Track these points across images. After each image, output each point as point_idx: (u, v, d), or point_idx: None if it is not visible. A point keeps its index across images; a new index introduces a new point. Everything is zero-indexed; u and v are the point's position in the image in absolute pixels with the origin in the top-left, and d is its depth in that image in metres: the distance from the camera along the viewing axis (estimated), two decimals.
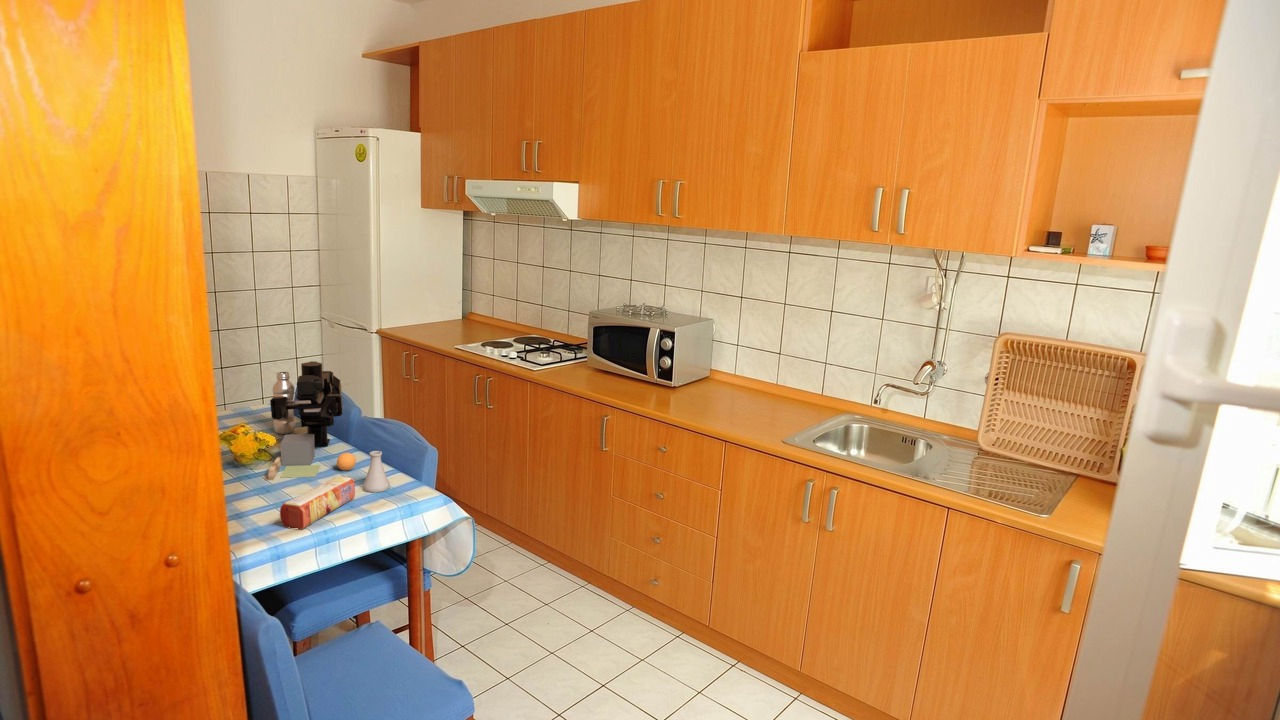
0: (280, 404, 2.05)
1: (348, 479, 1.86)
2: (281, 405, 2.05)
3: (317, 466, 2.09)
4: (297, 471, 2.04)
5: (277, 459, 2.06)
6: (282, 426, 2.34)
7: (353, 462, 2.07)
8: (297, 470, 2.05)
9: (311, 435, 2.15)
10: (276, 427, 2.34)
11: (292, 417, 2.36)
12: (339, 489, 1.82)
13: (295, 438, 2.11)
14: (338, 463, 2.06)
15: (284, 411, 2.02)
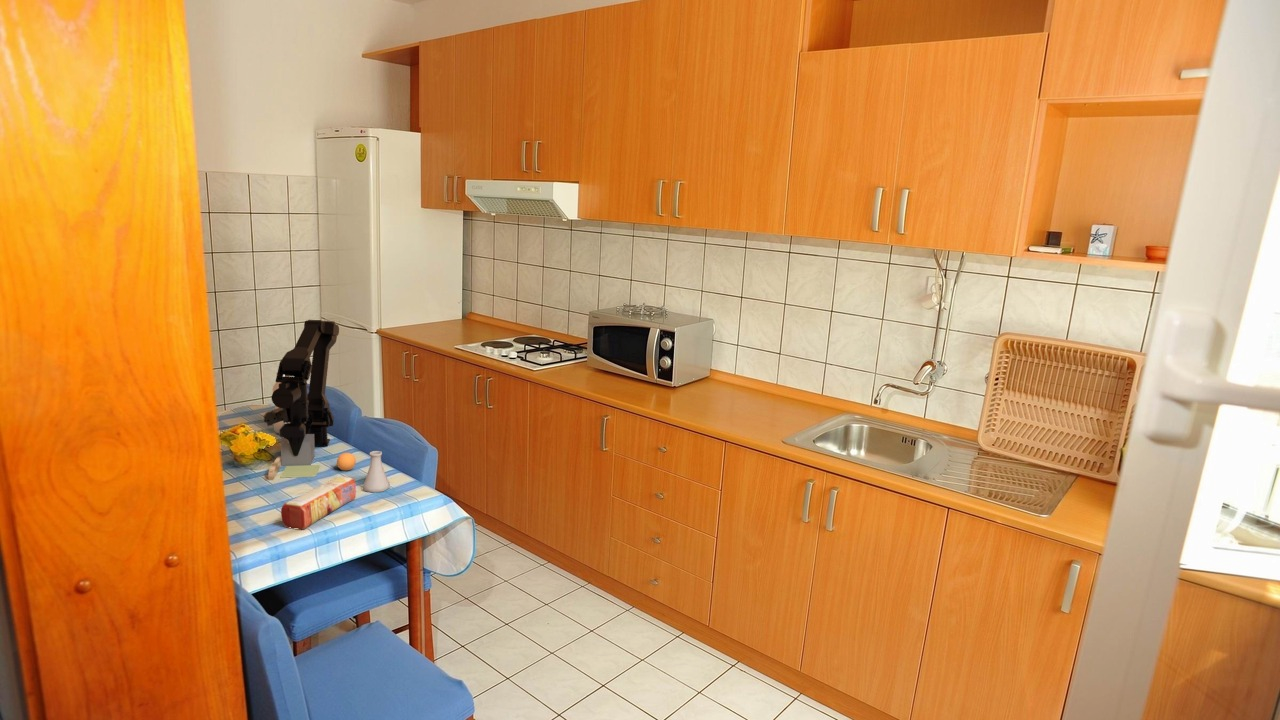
0: None
1: (349, 479, 1.86)
2: None
3: (317, 466, 2.09)
4: (297, 471, 2.04)
5: (277, 459, 2.06)
6: None
7: (353, 462, 2.07)
8: (297, 470, 2.05)
9: (311, 435, 2.15)
10: (276, 427, 2.34)
11: None
12: (340, 489, 1.82)
13: None
14: (338, 463, 2.06)
15: None
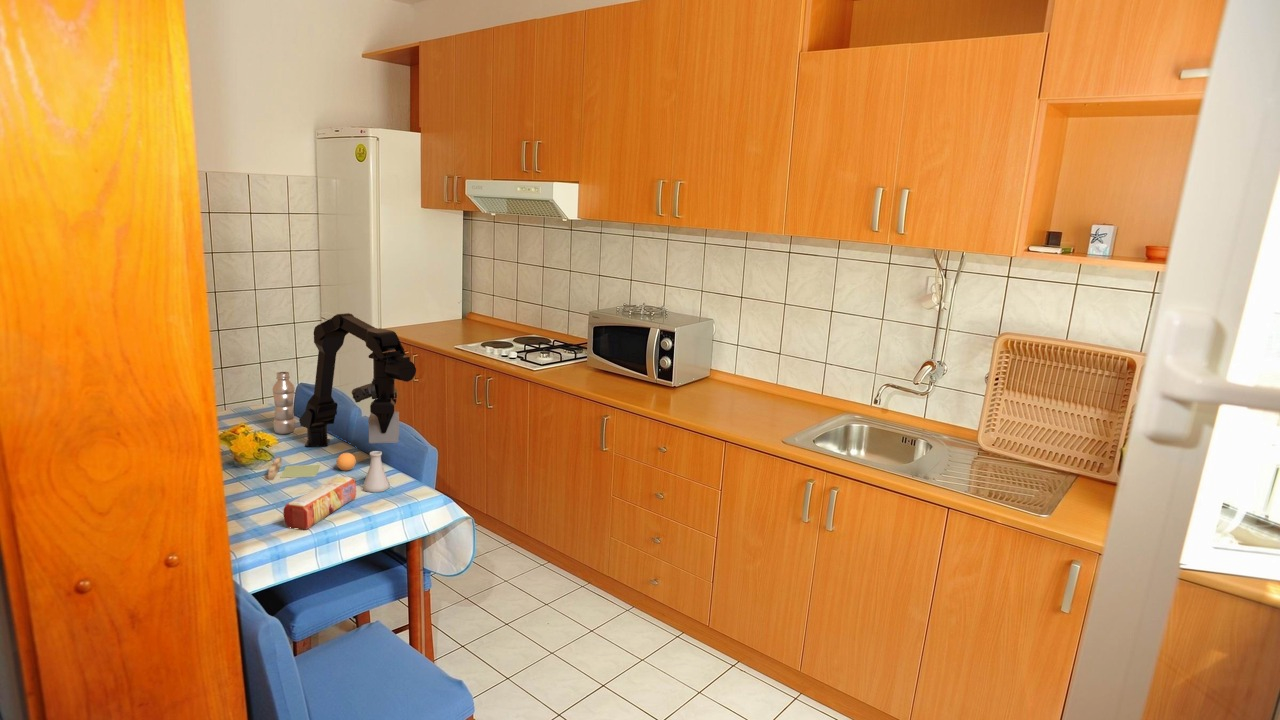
0: None
1: (349, 479, 1.87)
2: None
3: (317, 466, 2.09)
4: (297, 471, 2.04)
5: (277, 459, 2.06)
6: (282, 426, 2.34)
7: (353, 462, 2.07)
8: (297, 470, 2.05)
9: (396, 412, 2.11)
10: (276, 427, 2.34)
11: (292, 417, 2.36)
12: (341, 489, 1.82)
13: None
14: (338, 463, 2.06)
15: None
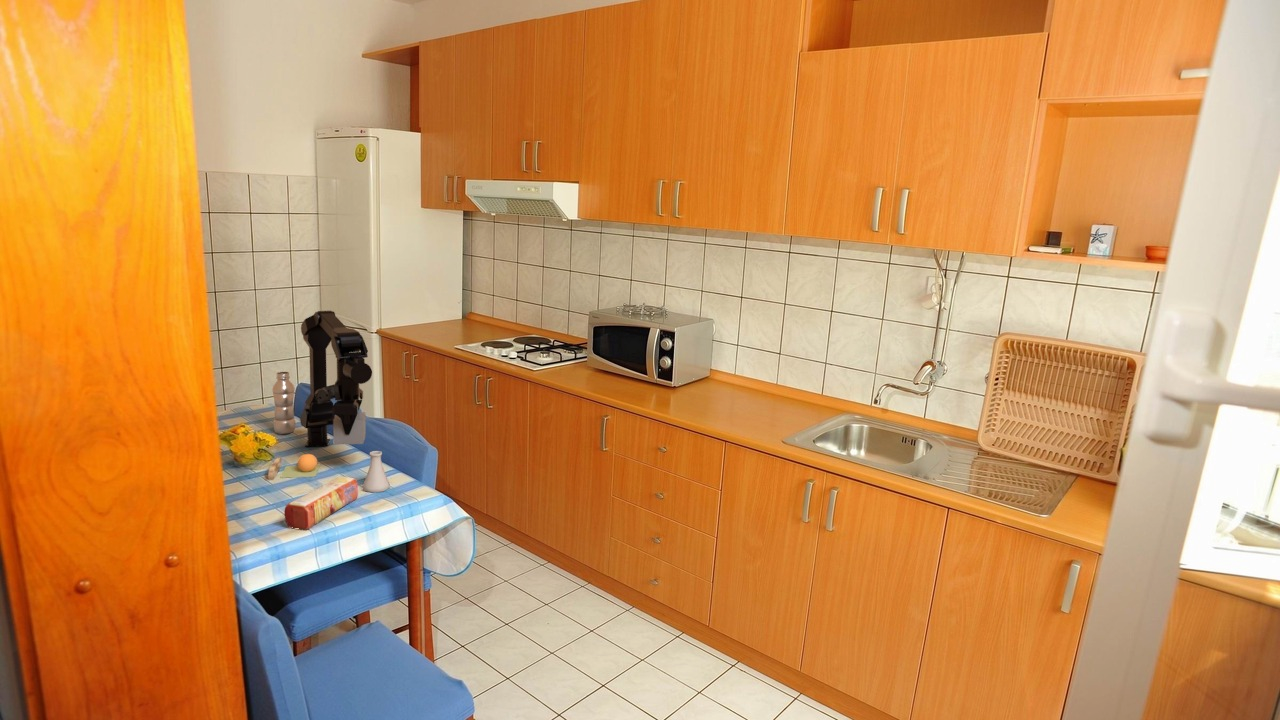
0: None
1: (351, 479, 1.87)
2: None
3: (317, 466, 2.09)
4: (297, 471, 2.04)
5: (277, 459, 2.06)
6: (282, 426, 2.34)
7: (302, 470, 2.04)
8: (297, 470, 2.05)
9: (362, 413, 2.09)
10: (276, 427, 2.34)
11: (292, 417, 2.36)
12: (342, 489, 1.82)
13: None
14: (311, 459, 2.04)
15: None
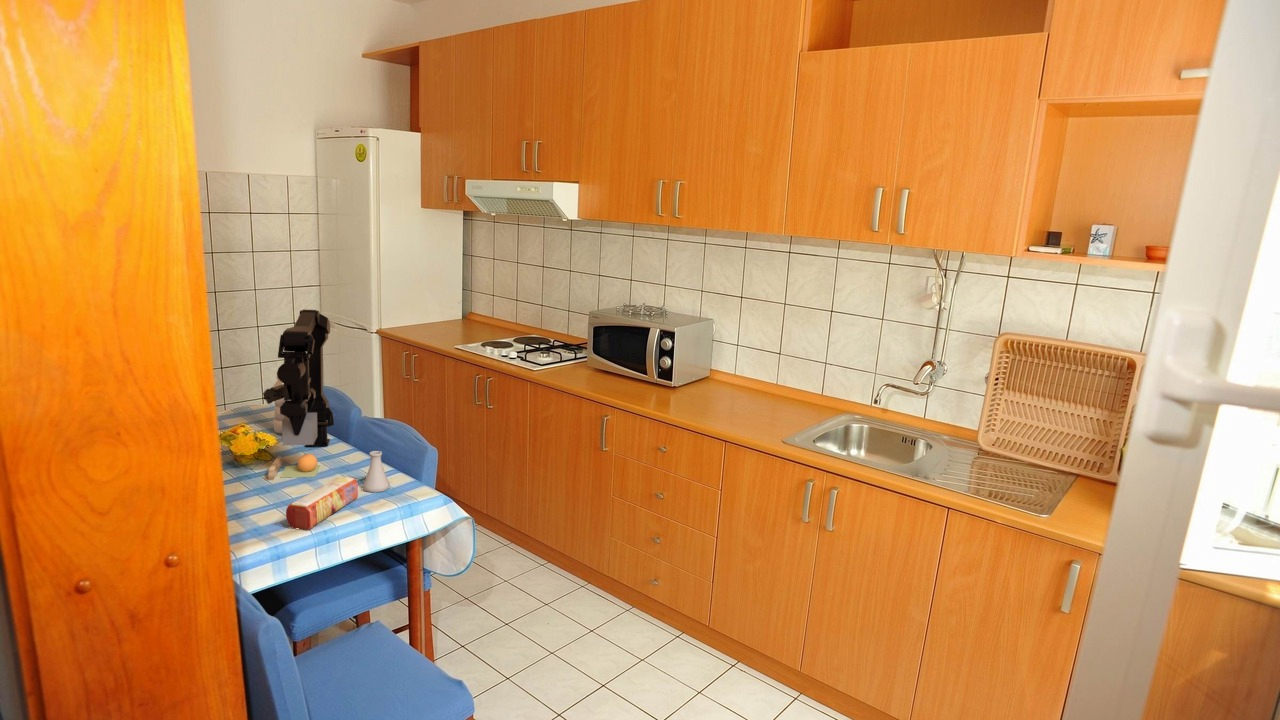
0: None
1: (351, 479, 1.87)
2: None
3: (317, 466, 2.09)
4: (297, 471, 2.04)
5: (277, 459, 2.06)
6: None
7: (302, 470, 2.04)
8: (297, 470, 2.05)
9: (314, 413, 2.05)
10: (276, 427, 2.34)
11: None
12: (343, 489, 1.82)
13: None
14: (311, 459, 2.04)
15: None
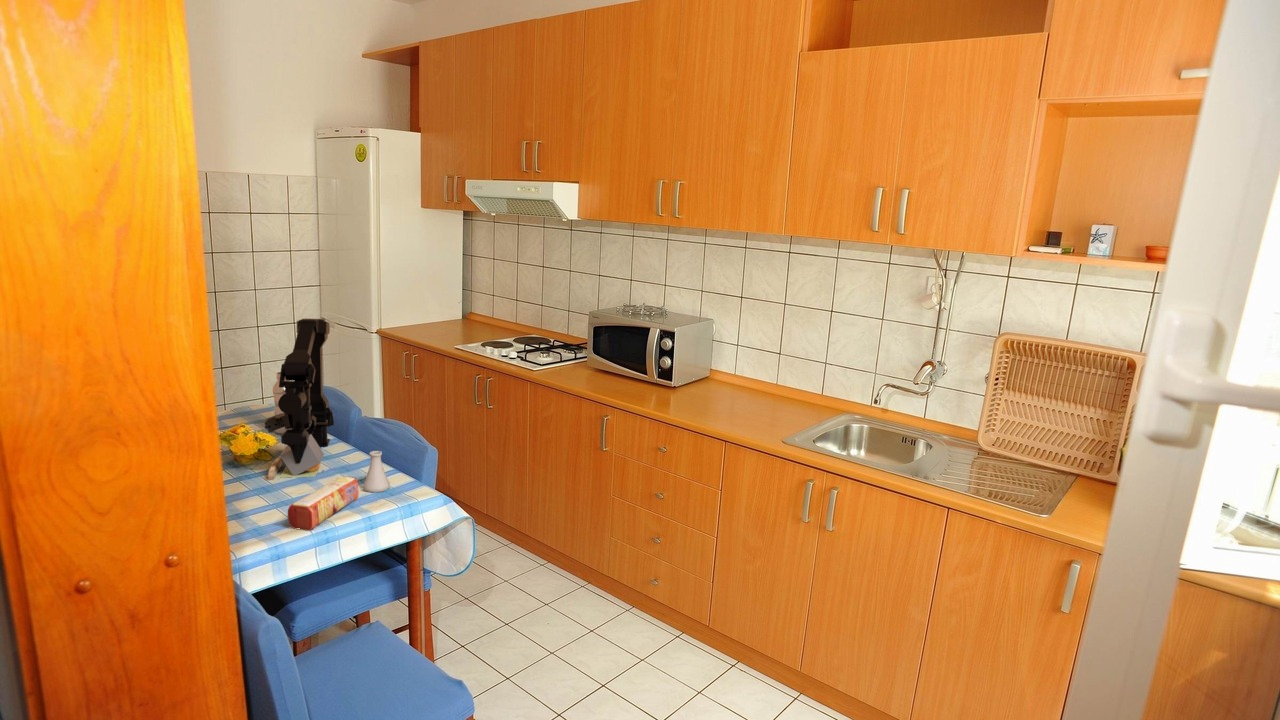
0: None
1: (352, 479, 1.87)
2: None
3: None
4: None
5: (277, 459, 2.06)
6: None
7: None
8: None
9: (308, 436, 2.06)
10: None
11: None
12: (344, 489, 1.82)
13: None
14: None
15: None
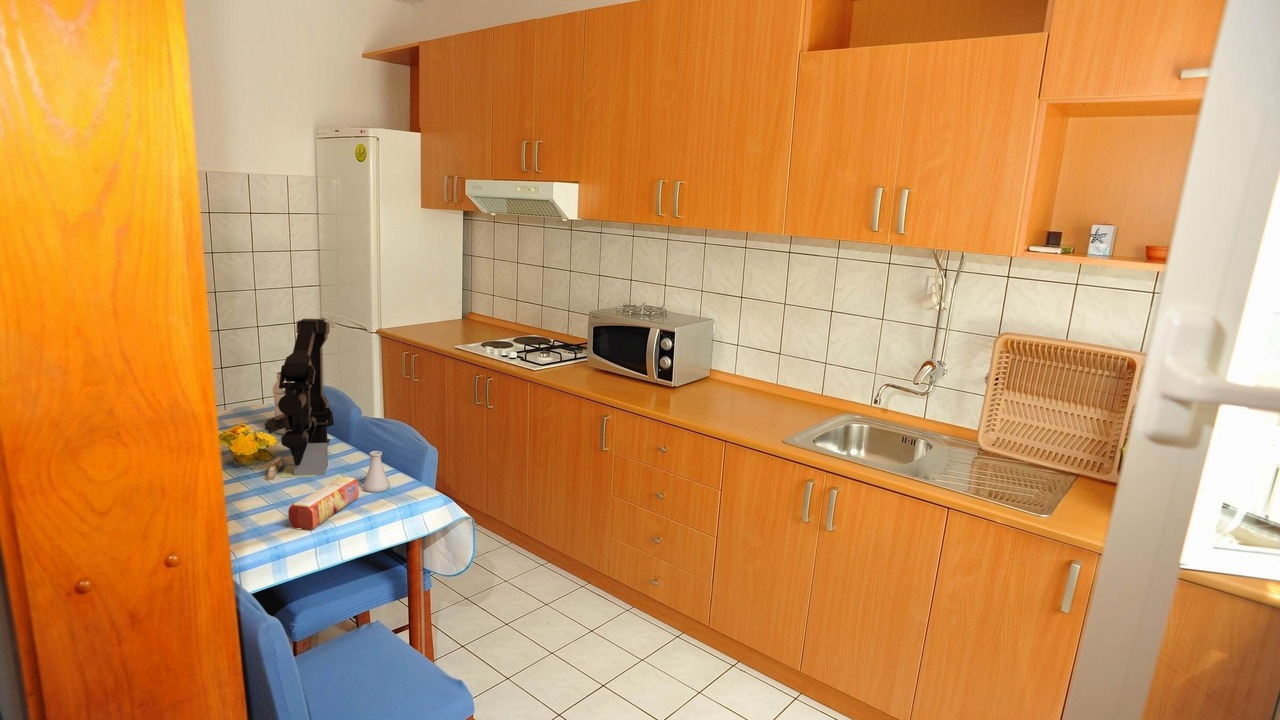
0: None
1: (352, 479, 1.87)
2: None
3: None
4: None
5: (277, 459, 2.06)
6: None
7: None
8: None
9: (324, 444, 2.08)
10: None
11: None
12: (344, 489, 1.82)
13: (308, 448, 2.04)
14: None
15: None
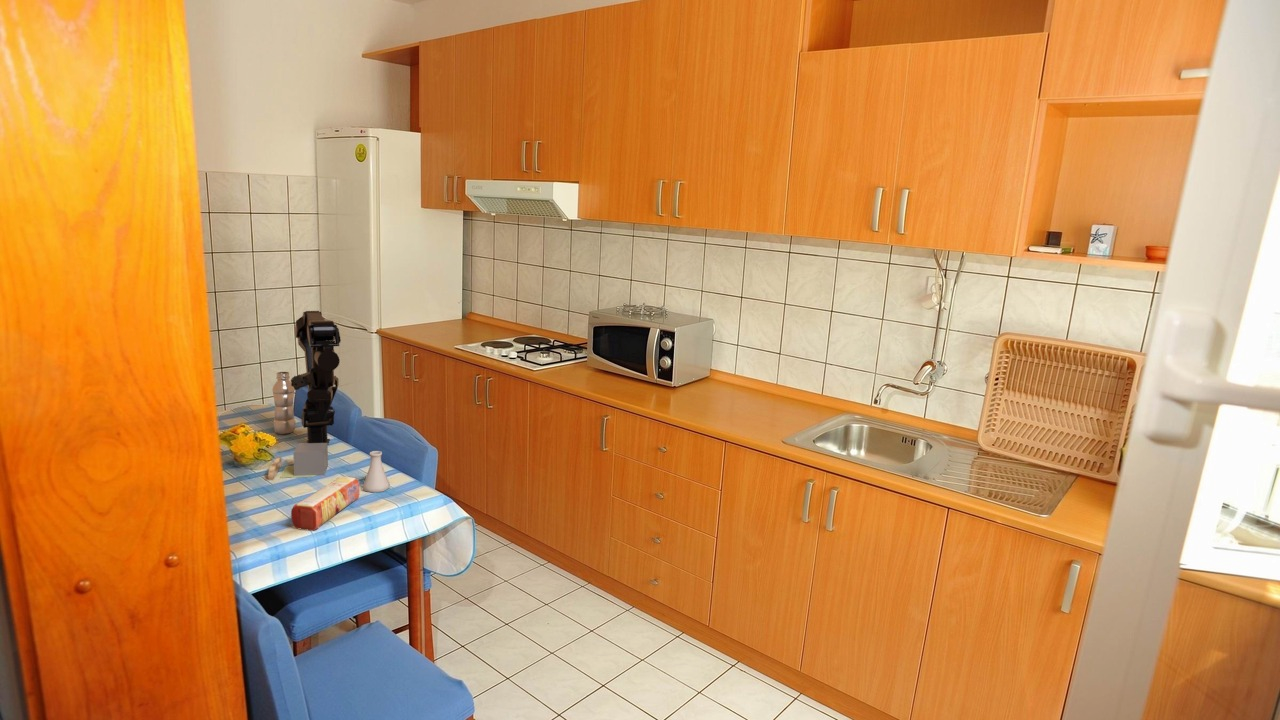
0: None
1: (353, 479, 1.87)
2: None
3: None
4: None
5: (277, 459, 2.06)
6: (282, 426, 2.34)
7: None
8: None
9: (324, 444, 2.08)
10: (276, 427, 2.34)
11: (292, 417, 2.36)
12: (346, 489, 1.82)
13: (308, 448, 2.04)
14: None
15: None
